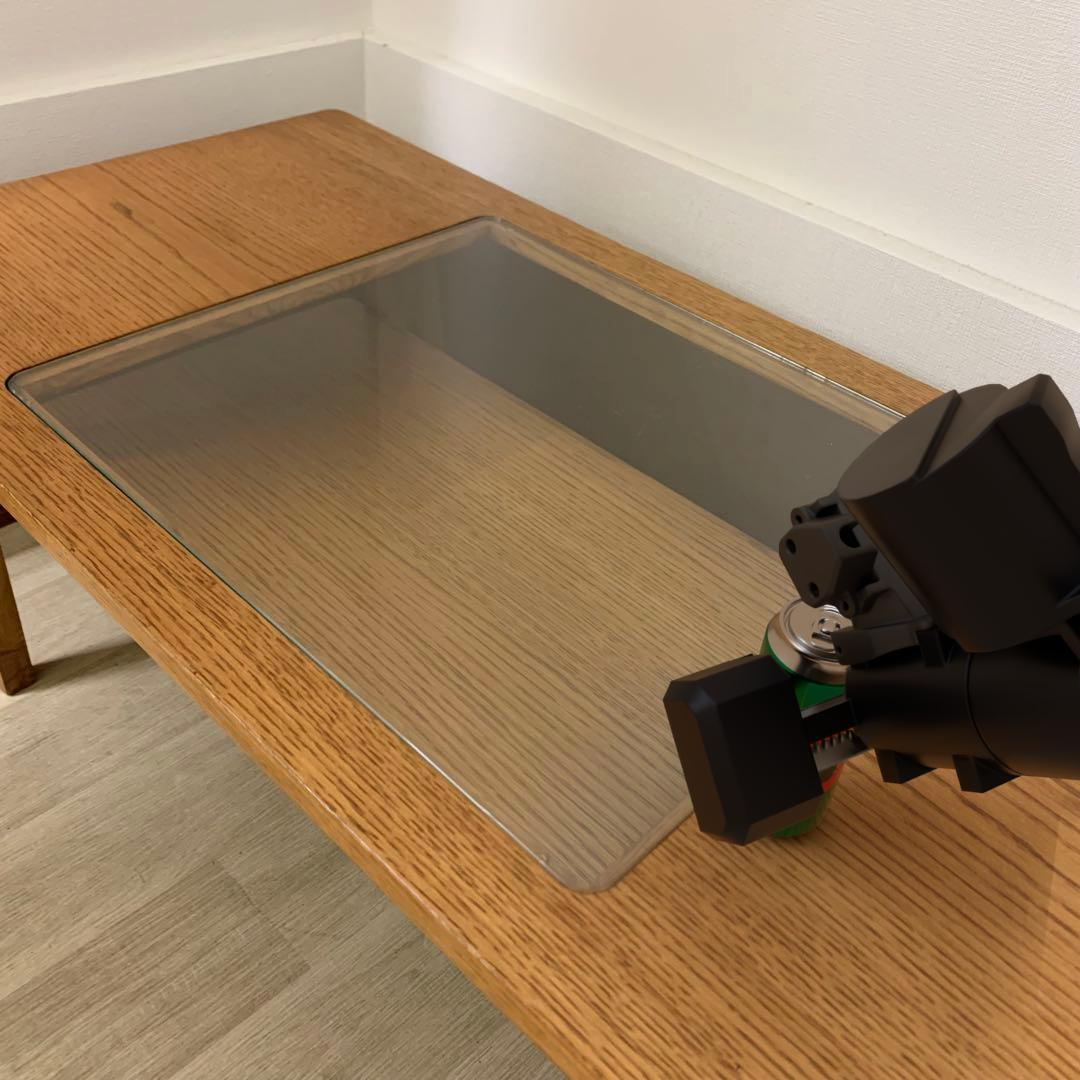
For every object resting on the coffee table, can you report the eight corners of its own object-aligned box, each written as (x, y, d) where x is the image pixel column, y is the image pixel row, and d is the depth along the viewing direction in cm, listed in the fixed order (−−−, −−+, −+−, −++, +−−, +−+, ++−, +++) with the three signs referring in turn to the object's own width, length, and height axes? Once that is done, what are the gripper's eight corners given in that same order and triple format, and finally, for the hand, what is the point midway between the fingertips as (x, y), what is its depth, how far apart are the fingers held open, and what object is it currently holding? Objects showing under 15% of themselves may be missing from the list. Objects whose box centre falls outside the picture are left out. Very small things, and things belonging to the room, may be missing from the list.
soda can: (835, 783, 57) (900, 610, 49) (810, 860, 53) (876, 685, 46) (739, 746, 58) (787, 572, 51) (708, 818, 55) (755, 642, 47)
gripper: (1151, 405, 42) (878, 478, 56) (740, 526, 34) (546, 575, 49) (1237, 695, 42) (940, 694, 56) (842, 879, 34) (617, 824, 49)
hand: (772, 690), depth 52 cm, fingers open, 8 cm apart
